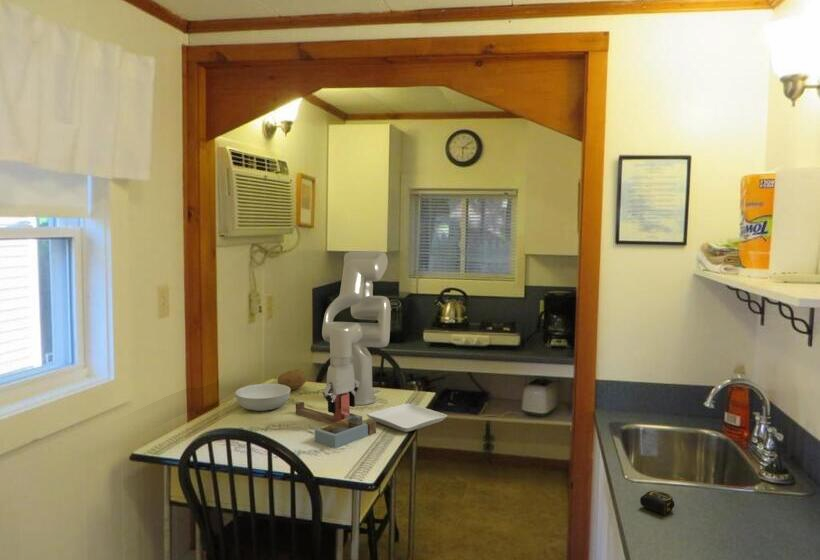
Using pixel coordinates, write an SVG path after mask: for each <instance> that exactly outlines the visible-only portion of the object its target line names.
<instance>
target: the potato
mask: <svg viewBox="0 0 820 560" xmlns="http://www.w3.org/2000/svg"><path fill="white" fill-rule="evenodd" d="M306 381H307V375H306V372H305V371H304V370H302V369H299V368H298V369H293V370H288V371H285V372H283V373H281V374H280V375H279V376H278V377H277V384H281V385H285V386H288V387H289V388H290V389H291V391H294V390H297V389H299V388H301V387H302V386H304V384H305V383H306Z"/></svg>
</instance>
